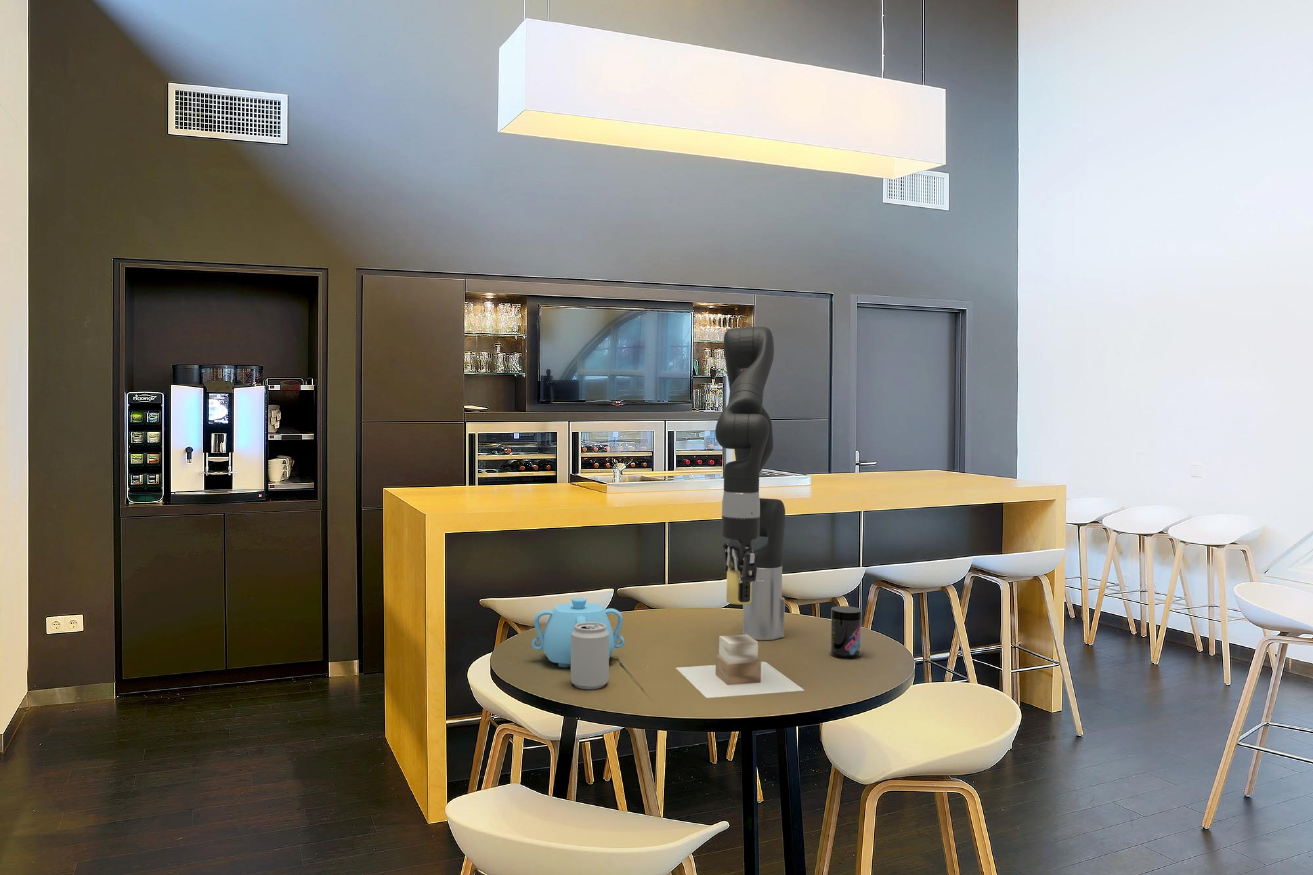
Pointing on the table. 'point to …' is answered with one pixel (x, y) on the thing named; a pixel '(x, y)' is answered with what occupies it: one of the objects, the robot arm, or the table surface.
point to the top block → (738, 649)
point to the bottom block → (738, 672)
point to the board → (716, 687)
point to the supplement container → (846, 632)
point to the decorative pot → (572, 628)
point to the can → (589, 655)
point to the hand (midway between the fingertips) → (739, 598)
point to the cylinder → (735, 588)
